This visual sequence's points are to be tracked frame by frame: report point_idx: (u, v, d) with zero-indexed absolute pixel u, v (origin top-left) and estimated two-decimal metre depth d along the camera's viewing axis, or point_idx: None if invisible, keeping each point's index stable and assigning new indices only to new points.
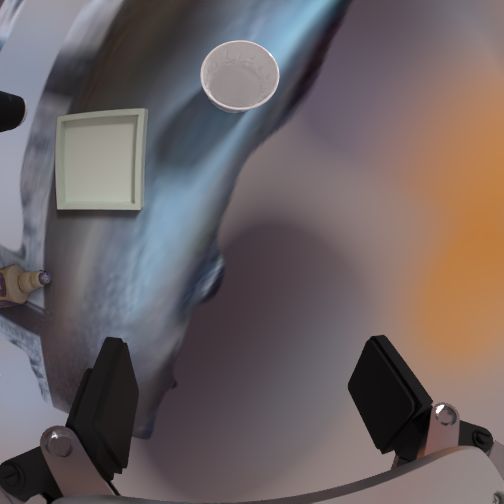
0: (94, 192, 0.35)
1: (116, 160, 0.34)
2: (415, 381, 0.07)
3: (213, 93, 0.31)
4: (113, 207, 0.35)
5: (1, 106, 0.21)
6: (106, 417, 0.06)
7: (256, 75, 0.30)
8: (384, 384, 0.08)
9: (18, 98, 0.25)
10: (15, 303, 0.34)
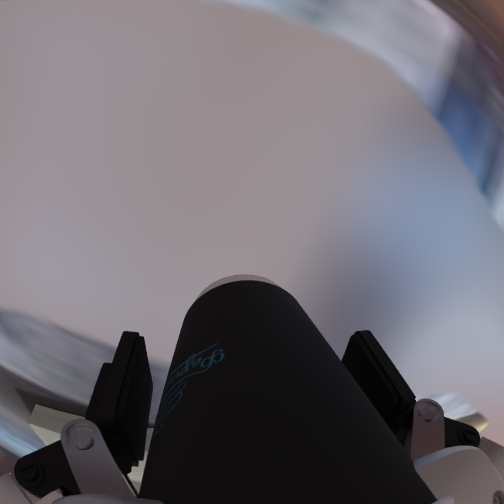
0: None
1: (133, 474, 0.18)
2: (398, 376, 0.08)
3: None
4: None
5: None
6: (127, 409, 0.06)
7: None
8: (367, 379, 0.09)
9: None
10: None
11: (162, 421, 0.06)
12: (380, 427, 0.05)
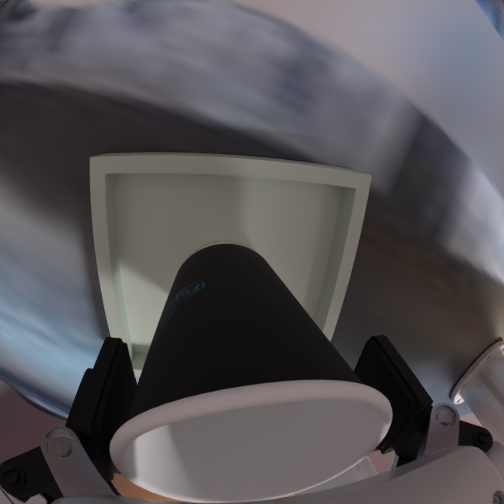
0: (141, 265, 0.15)
1: None
2: (415, 381, 0.07)
3: None
4: (113, 330, 0.14)
5: None
6: (106, 417, 0.06)
7: None
8: (384, 384, 0.08)
9: None
10: None
11: (157, 334, 0.08)
12: (320, 335, 0.08)
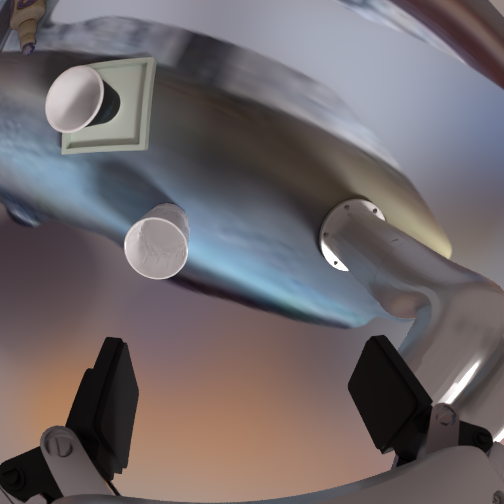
0: None
1: (104, 124, 0.33)
2: (415, 381, 0.07)
3: None
4: None
5: None
6: (106, 417, 0.06)
7: (177, 247, 0.40)
8: (384, 384, 0.08)
9: (111, 117, 0.31)
10: (9, 20, 0.17)
11: (70, 90, 0.25)
12: None
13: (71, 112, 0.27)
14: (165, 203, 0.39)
